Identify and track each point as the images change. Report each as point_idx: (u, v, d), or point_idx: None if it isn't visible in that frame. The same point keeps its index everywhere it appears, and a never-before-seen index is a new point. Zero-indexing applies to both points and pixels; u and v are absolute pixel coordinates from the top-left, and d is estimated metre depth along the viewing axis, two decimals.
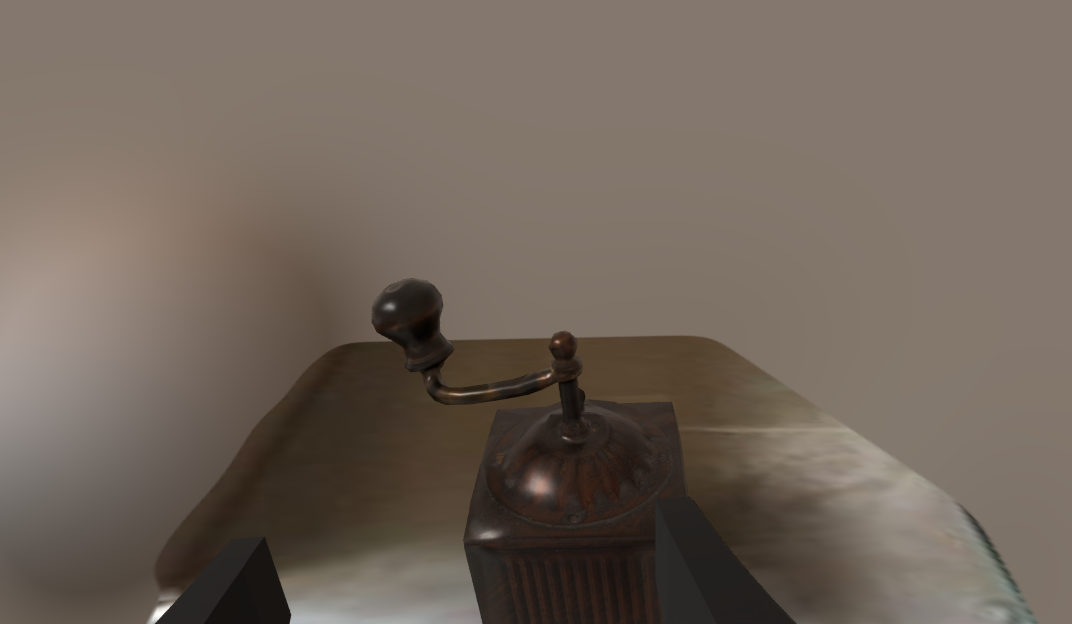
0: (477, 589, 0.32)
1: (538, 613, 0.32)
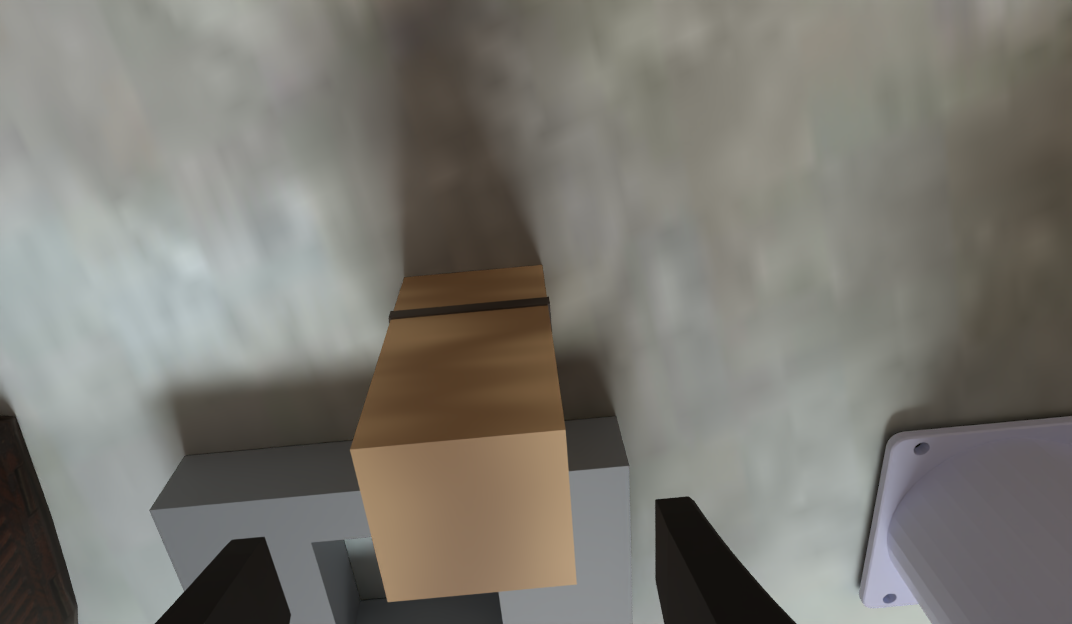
0: None
1: None
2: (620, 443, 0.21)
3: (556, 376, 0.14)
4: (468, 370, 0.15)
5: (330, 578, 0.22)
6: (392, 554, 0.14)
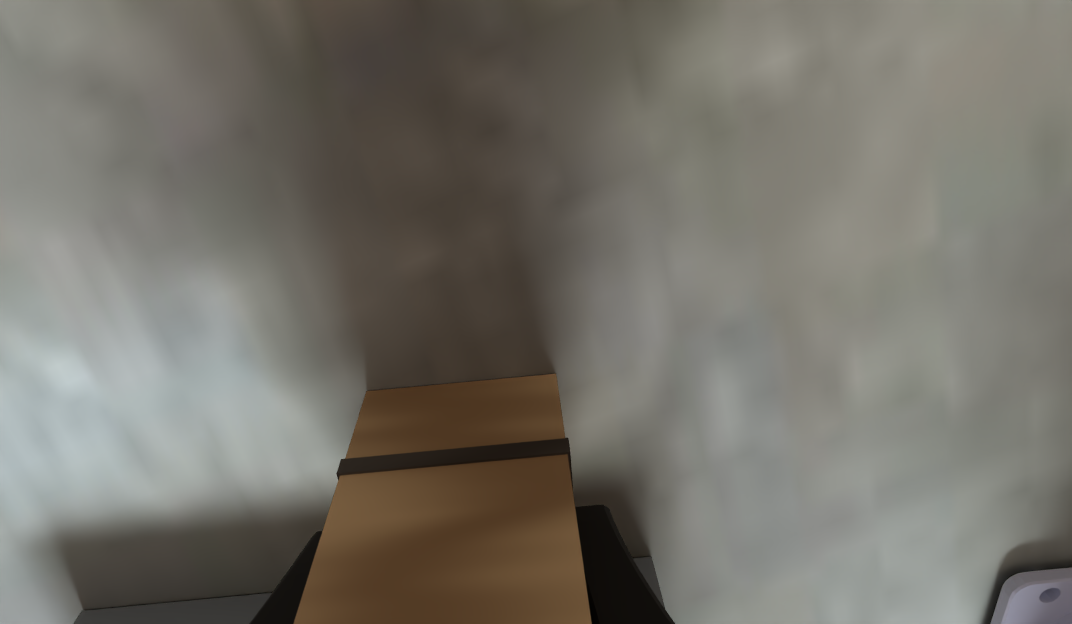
0: None
1: None
2: None
3: (588, 618, 0.09)
4: (449, 597, 0.10)
5: None
6: None
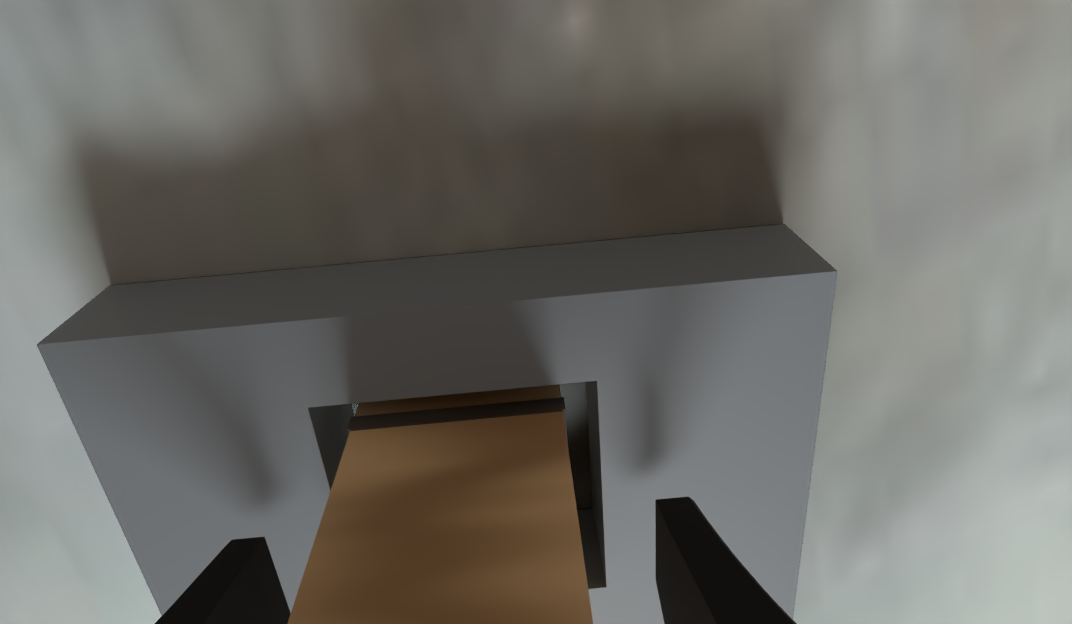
0: None
1: None
2: (808, 249, 0.13)
3: (580, 548, 0.10)
4: (452, 532, 0.10)
5: None
6: None
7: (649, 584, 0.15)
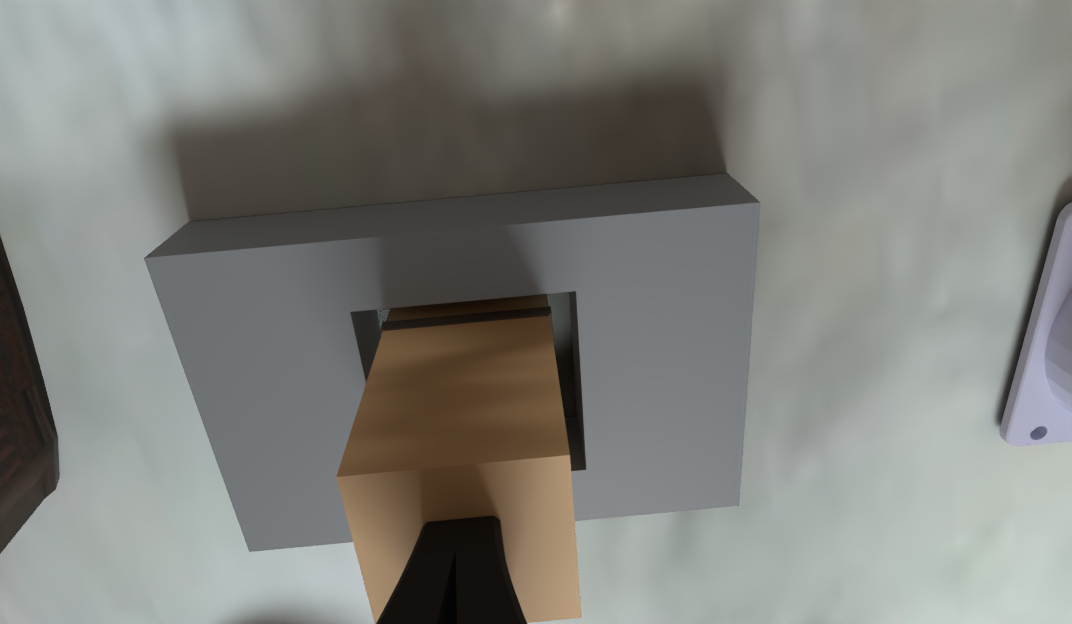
0: None
1: None
2: (741, 189, 0.17)
3: (559, 394, 0.13)
4: (465, 387, 0.14)
5: None
6: (383, 587, 0.13)
7: (621, 467, 0.19)
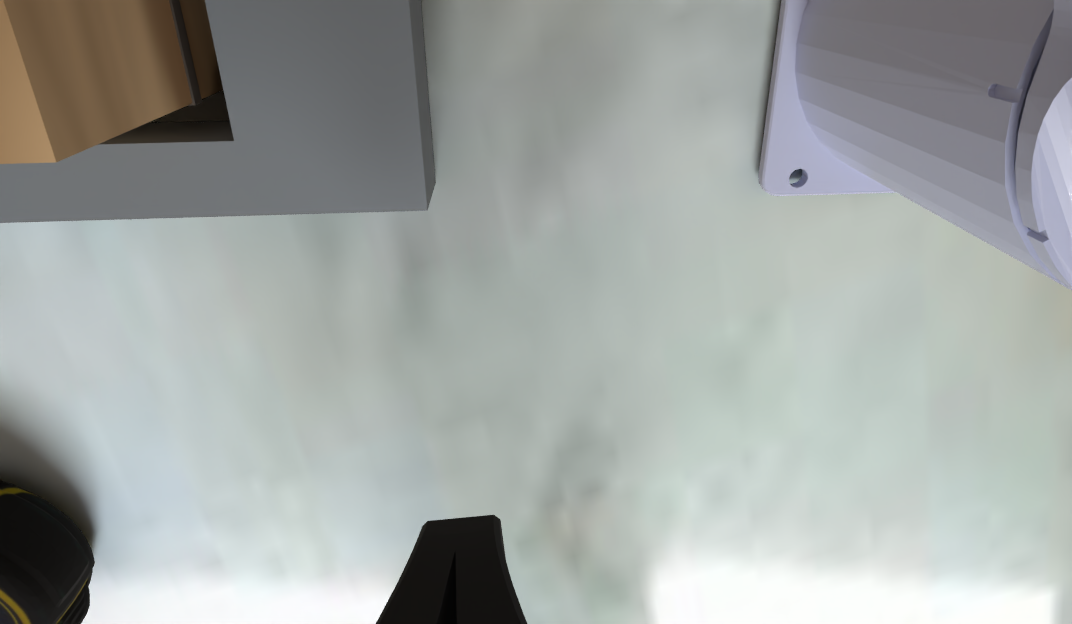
0: None
1: None
2: None
3: None
4: None
5: None
6: None
7: (276, 141, 0.16)
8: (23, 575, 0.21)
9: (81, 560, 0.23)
